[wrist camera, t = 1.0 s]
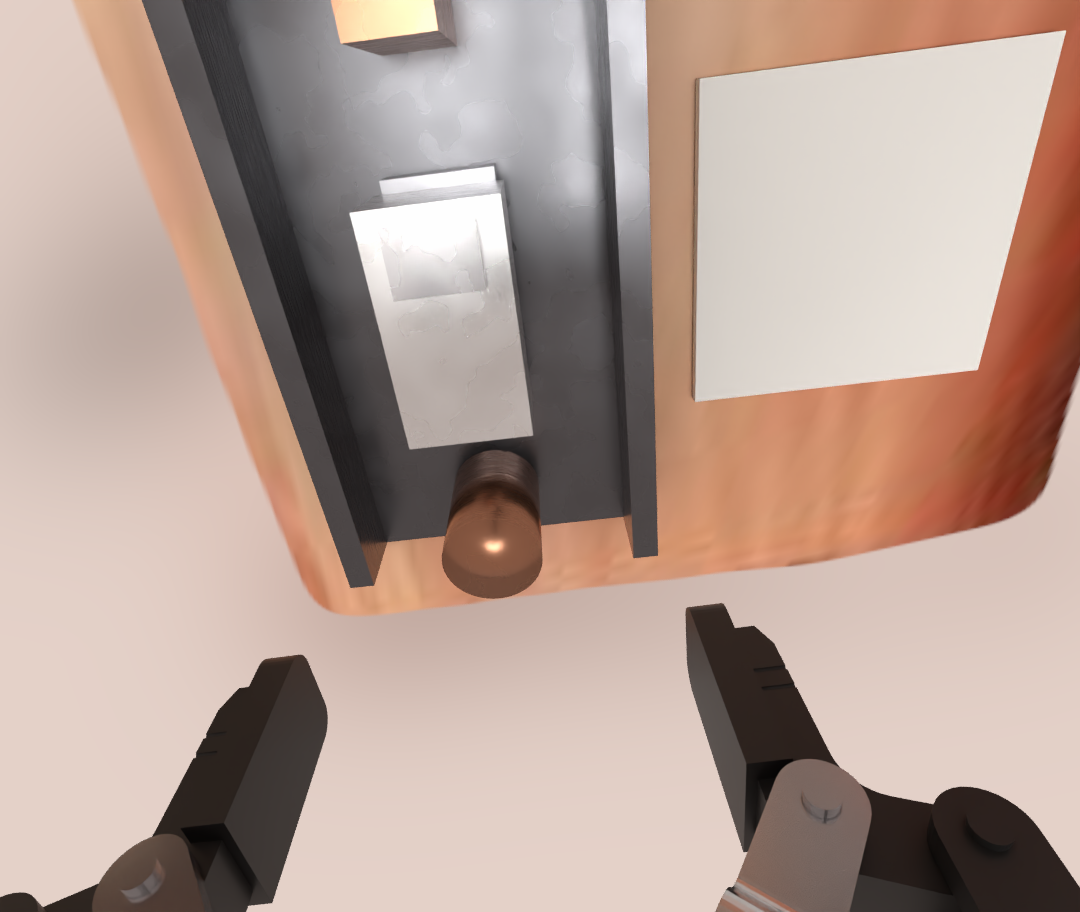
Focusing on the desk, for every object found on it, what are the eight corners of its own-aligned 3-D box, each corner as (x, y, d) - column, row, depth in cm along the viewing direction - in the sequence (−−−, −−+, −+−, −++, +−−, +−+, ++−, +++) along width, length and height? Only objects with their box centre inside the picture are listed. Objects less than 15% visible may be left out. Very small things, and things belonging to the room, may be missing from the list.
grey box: (374, 196, 24) (344, 215, 20) (503, 179, 24) (499, 196, 20) (423, 406, 28) (407, 457, 24) (531, 394, 28) (533, 442, 24)
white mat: (696, 79, 25) (699, 78, 24) (1054, 31, 24) (1066, 30, 24) (692, 397, 32) (695, 401, 31) (970, 365, 31) (977, 369, 31)
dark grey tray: (191, -50, 22) (55, -111, 16) (617, -111, 22) (658, -200, 15) (371, 527, 35) (337, 624, 29) (640, 498, 35) (668, 590, 28)
